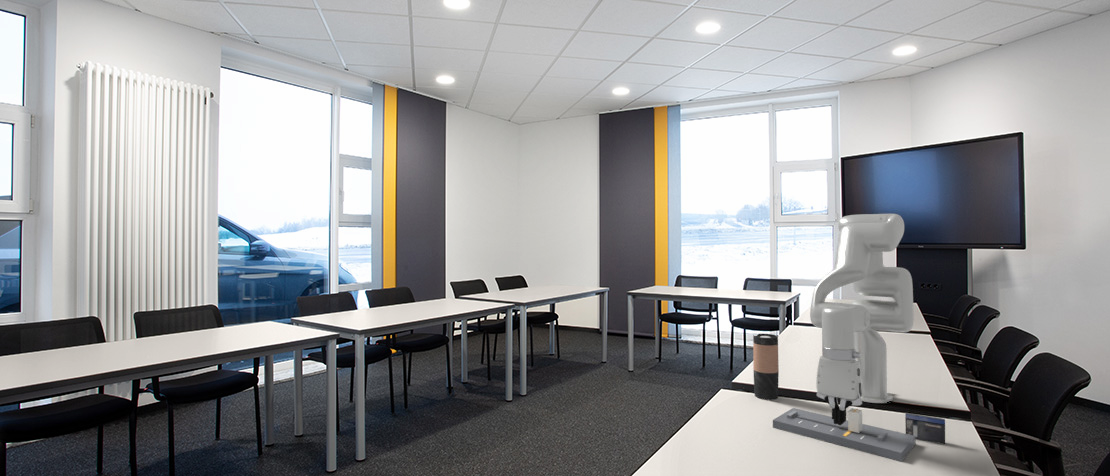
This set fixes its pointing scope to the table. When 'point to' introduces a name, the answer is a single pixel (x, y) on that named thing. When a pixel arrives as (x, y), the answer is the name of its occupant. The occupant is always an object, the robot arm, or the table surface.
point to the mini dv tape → (925, 427)
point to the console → (846, 434)
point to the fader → (855, 420)
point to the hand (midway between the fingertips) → (839, 423)
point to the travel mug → (765, 366)
